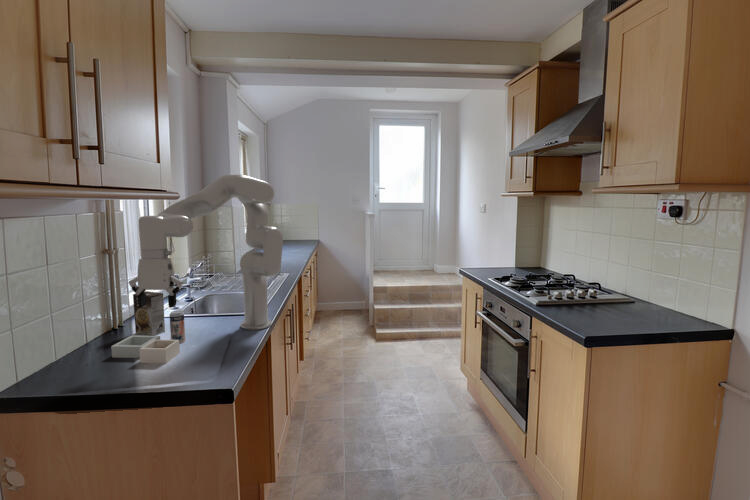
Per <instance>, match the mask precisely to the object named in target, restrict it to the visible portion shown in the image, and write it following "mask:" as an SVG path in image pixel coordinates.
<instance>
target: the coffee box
mask: <svg viewBox="0 0 750 500" xmlns="http://www.w3.org/2000/svg"><path fill="white" fill-rule="evenodd" d="M144 293H146V300H147V305H145V306H143V307H139V304H138V295H136V294H135V293H134V294H132V299H133V301H132V302H133V313H134V315H133V316H134V329H135V330H134V331H135V335H140V336H159V335H161V334H163V333H165V332H166V324H165V303H164V302H165V301H164V293H163V292H157V291H156V292H154V291H149V290H146V291H145V292H144Z"/></svg>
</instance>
